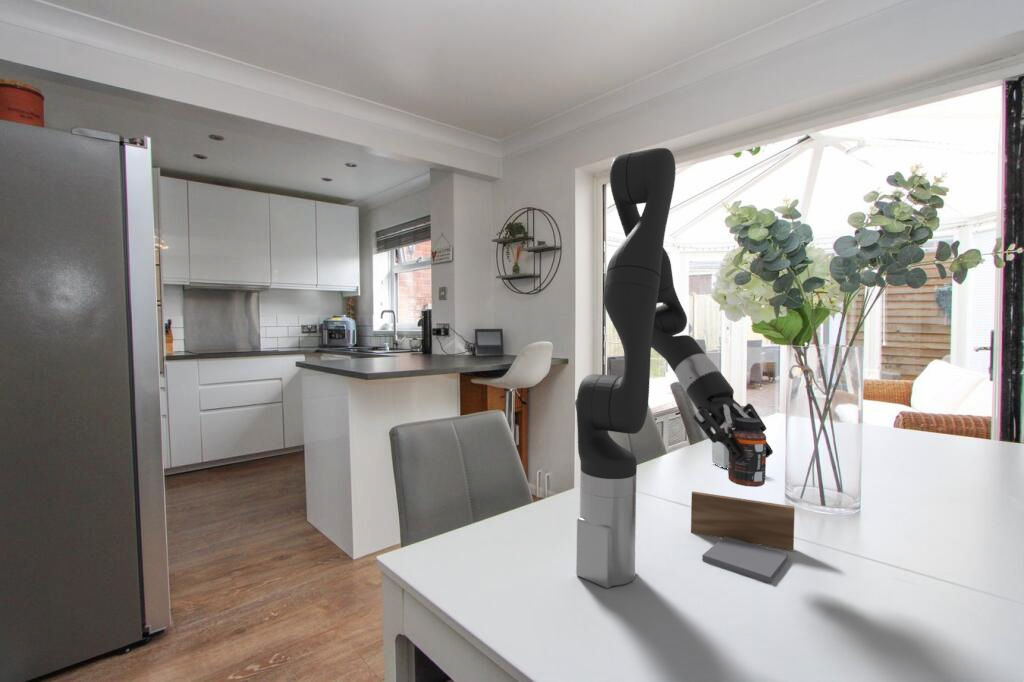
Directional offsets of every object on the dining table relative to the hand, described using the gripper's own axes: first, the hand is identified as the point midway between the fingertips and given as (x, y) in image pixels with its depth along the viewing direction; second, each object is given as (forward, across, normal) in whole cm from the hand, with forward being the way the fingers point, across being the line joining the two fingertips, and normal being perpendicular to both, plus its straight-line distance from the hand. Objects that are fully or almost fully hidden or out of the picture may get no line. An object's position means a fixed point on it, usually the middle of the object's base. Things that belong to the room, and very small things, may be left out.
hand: (755, 457), depth 84 cm
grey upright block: (-18, +46, +45) cm, 67 cm away
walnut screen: (+8, +6, +19) cm, 21 cm away
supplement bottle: (+2, 0, +5) cm, 5 cm away
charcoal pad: (+12, 0, +14) cm, 19 cm away
